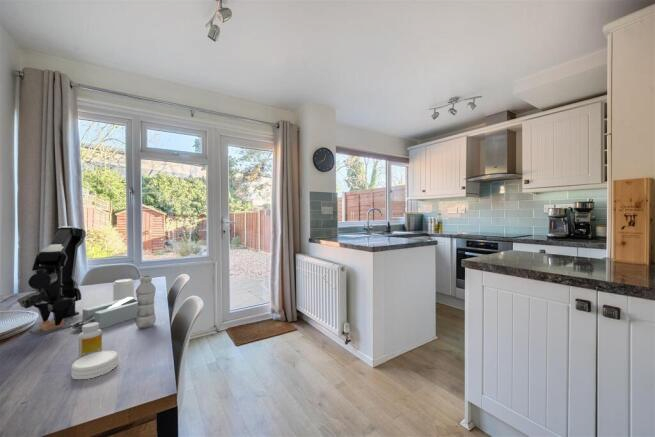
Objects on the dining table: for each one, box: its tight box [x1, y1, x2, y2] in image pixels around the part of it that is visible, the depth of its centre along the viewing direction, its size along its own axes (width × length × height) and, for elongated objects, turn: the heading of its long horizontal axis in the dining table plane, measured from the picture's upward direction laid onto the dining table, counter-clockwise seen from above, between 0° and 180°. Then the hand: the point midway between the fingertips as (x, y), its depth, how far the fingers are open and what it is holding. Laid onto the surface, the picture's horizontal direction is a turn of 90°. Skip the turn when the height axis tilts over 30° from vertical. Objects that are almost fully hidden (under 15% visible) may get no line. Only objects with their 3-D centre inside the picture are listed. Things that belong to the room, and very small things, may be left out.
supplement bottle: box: [78, 322, 103, 359], centre depth 84 cm, size 5×5×10 cm
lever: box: [71, 297, 135, 331], centre depth 110 cm, size 21×4×1 cm, turn 157°
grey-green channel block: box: [81, 297, 138, 330], centre depth 113 cm, size 18×12×6 cm, turn 157°
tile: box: [39, 318, 65, 331], centre depth 103 cm, size 5×5×2 cm
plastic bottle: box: [135, 275, 157, 329], centre depth 105 cm, size 6×7×20 cm
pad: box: [28, 322, 73, 337], centre depth 103 cm, size 9×9×1 cm
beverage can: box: [112, 278, 135, 302], centre depth 132 cm, size 8×8×12 cm
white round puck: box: [70, 350, 119, 380], centre depth 76 cm, size 10×10×4 cm
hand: (51, 323), depth 103 cm, fingers open, 9 cm apart
